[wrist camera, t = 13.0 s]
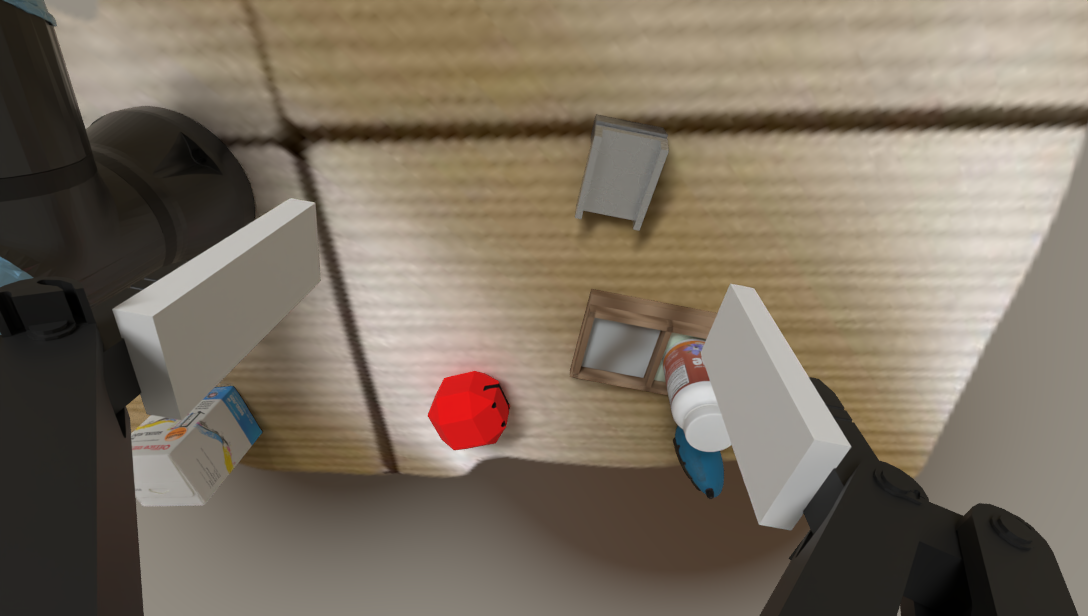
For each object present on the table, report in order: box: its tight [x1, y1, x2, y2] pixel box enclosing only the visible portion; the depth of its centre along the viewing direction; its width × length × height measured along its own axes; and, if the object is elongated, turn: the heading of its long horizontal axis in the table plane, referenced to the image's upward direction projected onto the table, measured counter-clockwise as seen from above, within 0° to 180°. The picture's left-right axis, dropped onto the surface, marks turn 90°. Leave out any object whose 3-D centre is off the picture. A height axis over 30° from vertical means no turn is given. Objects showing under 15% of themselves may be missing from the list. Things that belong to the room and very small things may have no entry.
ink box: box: [131, 386, 262, 506], centre depth 60 cm, size 9×8×12 cm
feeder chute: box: [575, 114, 669, 231], centre depth 43 cm, size 6×8×5 cm
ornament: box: [673, 426, 724, 499], centre depth 56 cm, size 8×5×10 cm, turn 33°
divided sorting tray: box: [570, 289, 718, 395], centre depth 53 cm, size 17×11×3 cm, turn 80°
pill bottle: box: [663, 339, 732, 452], centre depth 49 cm, size 6×6×11 cm
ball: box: [428, 371, 510, 450], centre depth 57 cm, size 8×8×8 cm
